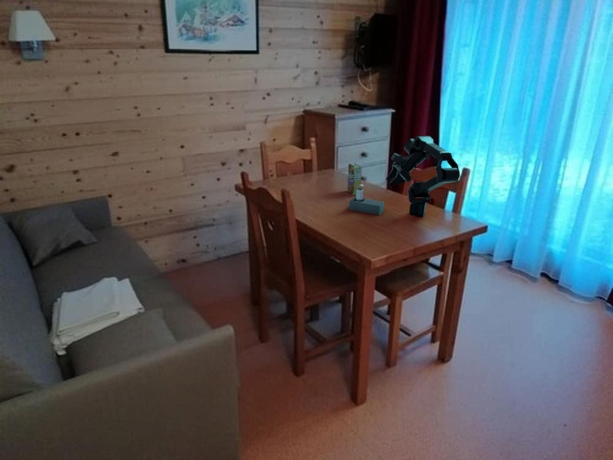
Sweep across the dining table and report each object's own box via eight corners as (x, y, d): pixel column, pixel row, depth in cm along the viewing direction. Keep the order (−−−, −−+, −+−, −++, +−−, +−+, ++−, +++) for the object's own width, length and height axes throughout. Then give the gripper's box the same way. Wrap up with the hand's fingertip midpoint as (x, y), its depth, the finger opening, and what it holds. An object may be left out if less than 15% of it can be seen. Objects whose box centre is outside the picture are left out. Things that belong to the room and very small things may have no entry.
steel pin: (362, 208, 220) (364, 184, 215) (360, 210, 217) (362, 186, 213) (356, 207, 221) (358, 183, 216) (354, 209, 218) (356, 185, 214)
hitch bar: (383, 210, 217) (384, 201, 216) (379, 215, 212) (380, 206, 210) (354, 205, 223) (354, 196, 222) (348, 209, 217) (349, 200, 216)
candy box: (346, 190, 246) (348, 163, 240) (353, 190, 247) (355, 162, 241) (352, 195, 238) (354, 167, 232) (360, 195, 239) (362, 166, 234)
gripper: (399, 143, 216) (374, 165, 220) (407, 152, 199) (379, 175, 203) (413, 160, 219) (388, 181, 223) (422, 170, 202) (395, 193, 206)
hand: (387, 182), depth 214 cm, fingers open, 9 cm apart
